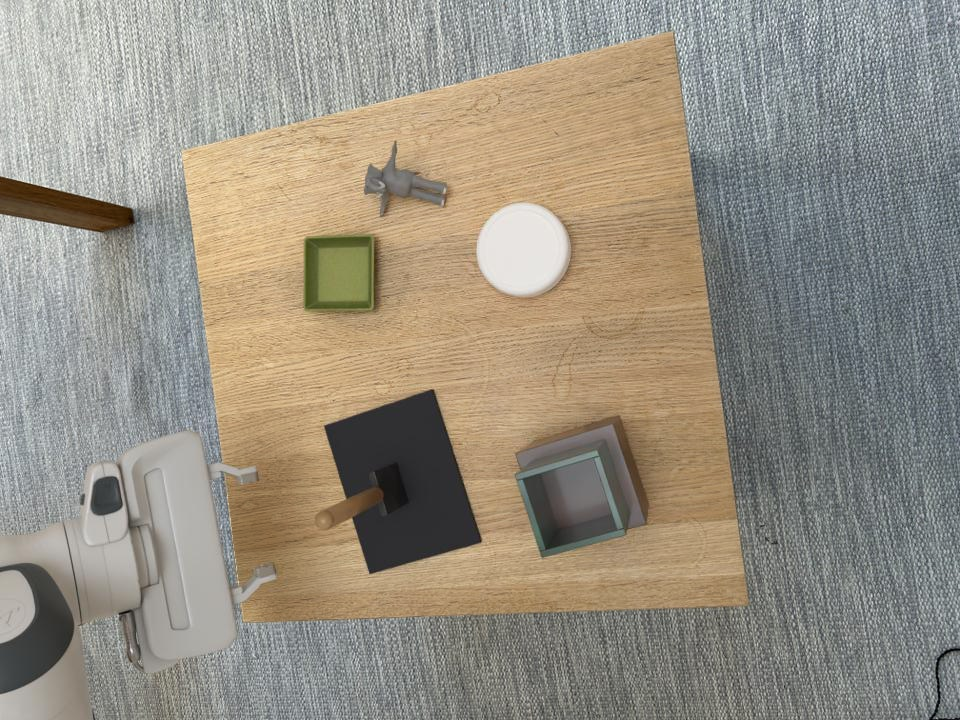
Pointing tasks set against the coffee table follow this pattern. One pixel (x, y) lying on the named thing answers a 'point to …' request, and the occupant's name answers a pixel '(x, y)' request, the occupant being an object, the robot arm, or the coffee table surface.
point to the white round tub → (523, 250)
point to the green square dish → (339, 273)
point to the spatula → (368, 498)
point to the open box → (581, 487)
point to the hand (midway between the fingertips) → (265, 521)
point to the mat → (404, 481)
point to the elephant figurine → (400, 183)
